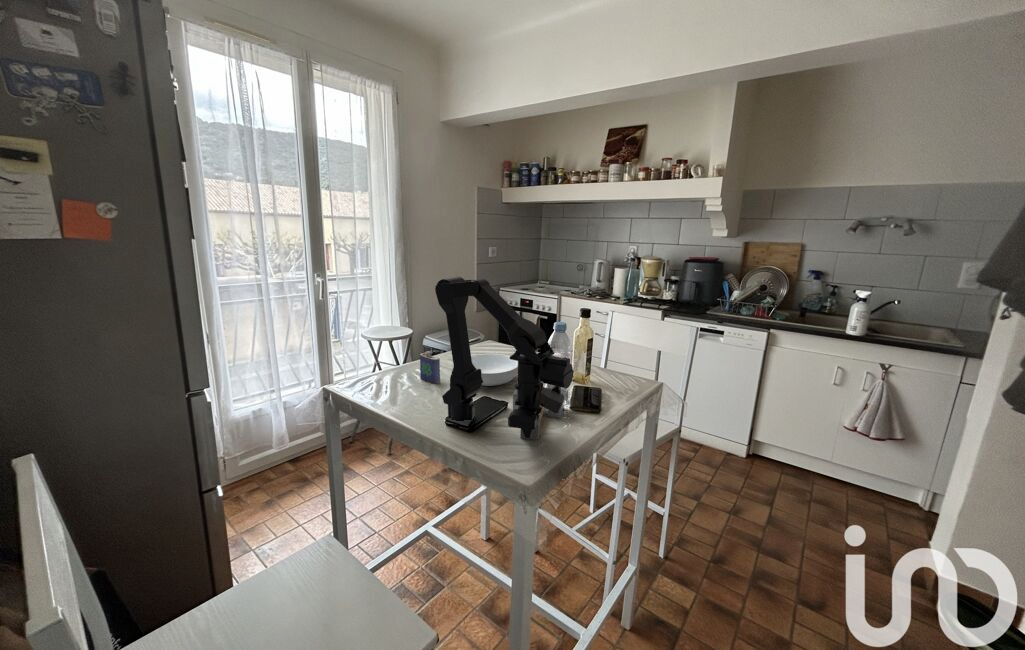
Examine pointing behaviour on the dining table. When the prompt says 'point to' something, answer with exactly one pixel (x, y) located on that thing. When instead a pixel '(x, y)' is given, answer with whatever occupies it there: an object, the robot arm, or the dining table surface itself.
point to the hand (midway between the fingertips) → (527, 437)
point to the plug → (535, 431)
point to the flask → (429, 368)
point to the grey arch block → (550, 413)
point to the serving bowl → (495, 368)
